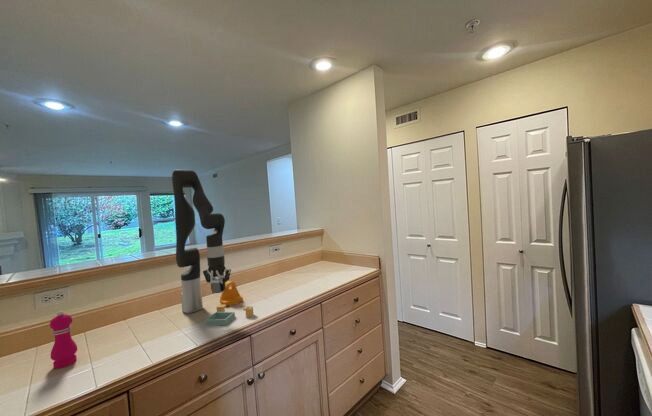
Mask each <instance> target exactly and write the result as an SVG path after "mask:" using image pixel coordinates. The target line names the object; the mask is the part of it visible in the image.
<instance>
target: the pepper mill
mask: <svg viewBox="0 0 652 416" xmlns="http://www.w3.org/2000/svg"><path fill="white" fill-rule="evenodd" d="M72 322H73V317H72V316H71V315H70V314H68V313H66V314H65V312H64V311H63V310H59V311H58V312H57V313H56V316H55V317H53V318H52V319H51V320H50V322H49V328H50V329H52V335H53V336H54V343H53V345H52V348H51V350H50V359H51V360H52V361H53V363H52V364H53V369H63V368H66V367H68V366H71V365H73V364H74V363H75V362H77V359H78V358H77V355H76V353H77V352H78V345H77V344H76V342H75V340H74V339H73V338H72V335H71V330H72V325H71V324H72Z"/></svg>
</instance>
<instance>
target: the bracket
mask: <svg viewBox="0 0 652 416" xmlns="http://www.w3.org/2000/svg"><path fill="white" fill-rule="evenodd" d="M242 301H244V297H243V296H242V295H241V294H240V292H239V290H238V289H237V285H236V283H235V282H233V281H232V280H229V281H227V282H225V290H224V291H223V292H221V293H220V298H219V303H220V305H226V306H229V307H231V306H234V305H238V304H240V302H242Z"/></svg>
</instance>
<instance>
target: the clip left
mask: <svg viewBox="0 0 652 416" xmlns="http://www.w3.org/2000/svg"><path fill="white" fill-rule="evenodd" d="M226 308H227V305H222V304H219V305H218V306H216V312H226Z"/></svg>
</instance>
